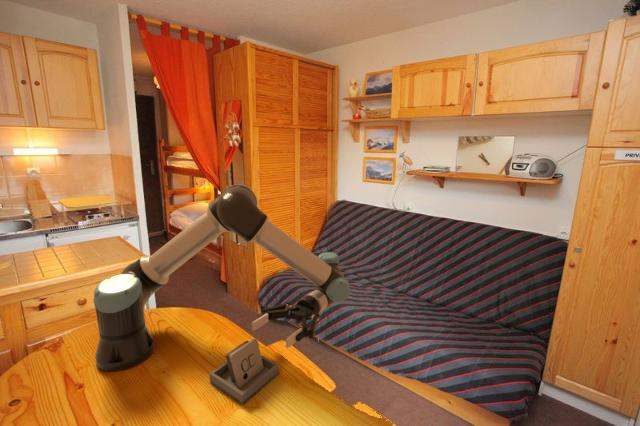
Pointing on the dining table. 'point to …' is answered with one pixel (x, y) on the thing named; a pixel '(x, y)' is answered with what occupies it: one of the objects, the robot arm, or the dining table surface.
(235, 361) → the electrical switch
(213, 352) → the dining table surface
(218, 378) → the box
